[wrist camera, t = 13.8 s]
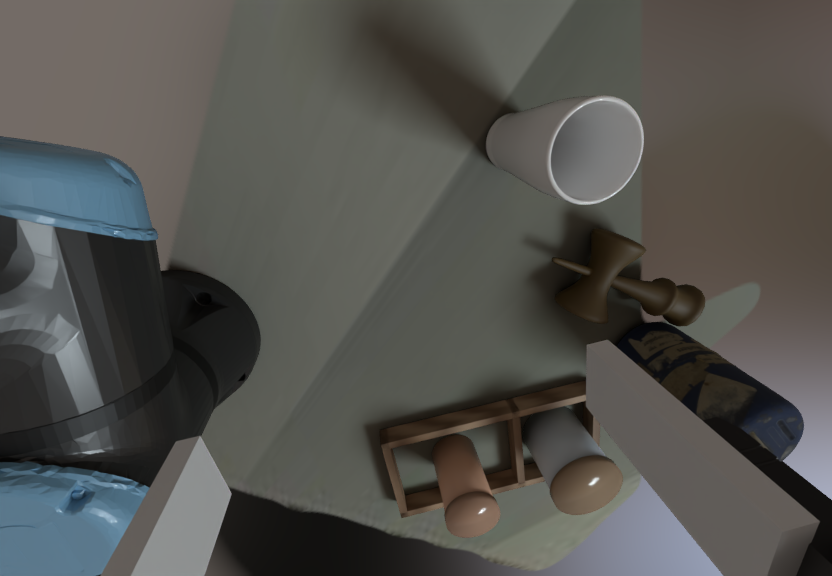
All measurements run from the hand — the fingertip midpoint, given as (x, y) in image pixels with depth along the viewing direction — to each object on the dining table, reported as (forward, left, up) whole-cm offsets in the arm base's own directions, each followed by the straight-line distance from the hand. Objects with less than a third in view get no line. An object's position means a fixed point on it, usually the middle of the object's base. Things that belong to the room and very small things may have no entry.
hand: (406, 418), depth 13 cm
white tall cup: (+15, +5, -29) cm, 33 cm away
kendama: (+26, -12, -29) cm, 41 cm away
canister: (+31, -24, -29) cm, 49 cm away
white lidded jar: (+18, -34, -29) cm, 48 cm away
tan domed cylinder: (+4, -34, -29) cm, 45 cm away
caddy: (+10, -34, -29) cm, 46 cm away
